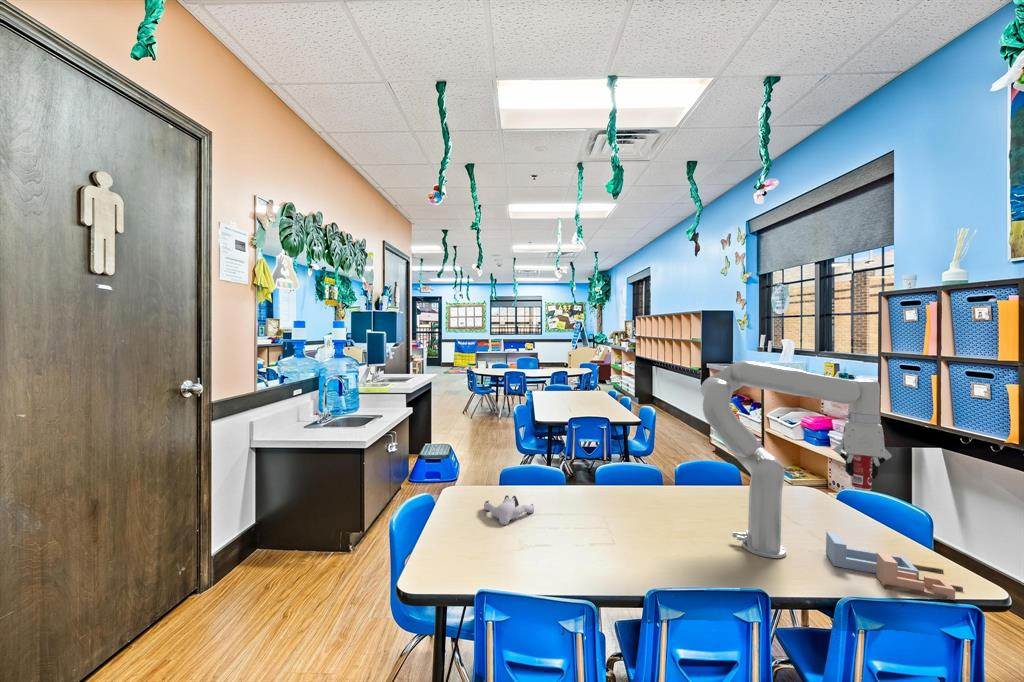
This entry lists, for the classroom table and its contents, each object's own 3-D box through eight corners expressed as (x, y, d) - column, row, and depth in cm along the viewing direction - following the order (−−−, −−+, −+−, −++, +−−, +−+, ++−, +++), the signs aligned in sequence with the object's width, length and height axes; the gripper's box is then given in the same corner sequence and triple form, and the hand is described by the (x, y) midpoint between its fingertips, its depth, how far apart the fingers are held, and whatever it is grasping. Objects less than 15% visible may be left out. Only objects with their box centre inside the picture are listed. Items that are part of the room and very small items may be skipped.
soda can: (860, 485, 144) (862, 448, 144) (875, 491, 139) (877, 452, 139) (846, 485, 144) (847, 448, 144) (861, 491, 138) (862, 452, 138)
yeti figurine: (490, 508, 184) (473, 526, 165) (489, 491, 184) (472, 508, 165) (537, 509, 179) (525, 529, 160) (536, 492, 179) (524, 510, 160)
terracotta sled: (883, 585, 127) (884, 561, 127) (876, 575, 132) (876, 552, 132) (924, 593, 123) (925, 567, 123) (914, 582, 129) (915, 558, 129)
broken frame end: (933, 596, 123) (933, 585, 123) (923, 585, 128) (923, 575, 128) (955, 600, 121) (955, 589, 121) (944, 589, 126) (944, 579, 126)
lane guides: (885, 588, 126) (885, 584, 126) (862, 558, 144) (862, 555, 144) (978, 606, 118) (979, 602, 118) (942, 572, 136) (942, 569, 136)
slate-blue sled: (834, 565, 138) (834, 543, 138) (825, 552, 146) (826, 531, 146) (918, 580, 130) (919, 556, 130) (904, 566, 139) (905, 543, 139)
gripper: (834, 418, 141) (832, 475, 141) (902, 423, 135) (899, 483, 135) (827, 414, 148) (825, 469, 148) (892, 419, 142) (890, 476, 142)
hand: (861, 475), depth 142 cm, fingers closed on soda can, 5 cm apart
